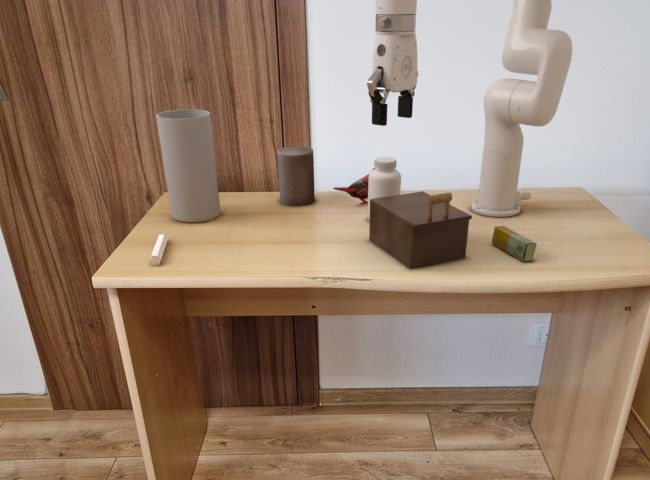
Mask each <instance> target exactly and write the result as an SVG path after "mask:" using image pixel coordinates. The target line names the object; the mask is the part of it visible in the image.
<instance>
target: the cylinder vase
mask: <svg viewBox="0 0 650 480" xmlns="http://www.w3.org/2000/svg"><path fill="white" fill-rule="evenodd" d="M155 116H156V123H157V129H158V136H159V137H158V138H159V142H160V149H161V156H162V163H163V170H164V175H165V183H166V189H167V196H168V201H169V209H170V215H171V217H172V219H173V220H175V221H178V222H181V223H190V224H192V223H193V224H196V223H204V222H209V221H211V220H214V219H216V218H218V217H219V216H220V215H221V211H222V210H221V201H220V193H219V186H218V185H219V184H218V176H217V174H218V173H217V166H216V156H215V146H214V139H213V130H212V121H211V120H212V119H211V112H210V111H208V110H203V109H174V110H166V111H162V112H159V113H157V114H156V115H155Z"/></svg>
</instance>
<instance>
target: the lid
mask: <svg viewBox="0 0 650 480" xmlns="http://www.w3.org/2000/svg"><path fill="white" fill-rule="evenodd" d="M452 200H453V194H452V193H451V192H443V193H436V194H429V193H427V192H426V191H423V190H422V191H416V192H409V193H402V194H400V195H395V196H388V197H381V198H375V199H370V203H372V204H373V205H375V206H377V207H378V208H380V209H382V210H383V211H385V212H387V213H388V214H390V215H392V216H393V217H395V218H397V219H398V220H400V221H402V222H403V223H405V224H407V225H408V226H410V227H412V228H413V229H417V228H423V227H429V226H435V225H441V224H446V223H452V222H458V221H464V220H469V221H470V220H472V219H473V215H472V214H470V213H467V212H465V211H464V210H462V209H460V208H457V207H455V206H453V205H451V203H450V202H451V201H452Z"/></svg>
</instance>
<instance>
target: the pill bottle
mask: <svg viewBox="0 0 650 480" xmlns="http://www.w3.org/2000/svg"><path fill="white" fill-rule="evenodd" d="M373 165H374V167H373V168H375V169H374V170H371V171H370V172H369V173H370V174H369V173H368V174H369V180H368V199H367V201H368V204H367V220H368V221H369V222H370V199H375V198H381V197H388V196H395V195H401V186H402V175H401V172H400V171H399V170H397V159H396V158H394V157H390V156H380V157H376V158H375V159H374V162H373Z"/></svg>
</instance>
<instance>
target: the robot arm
mask: <svg viewBox="0 0 650 480" xmlns="http://www.w3.org/2000/svg"><path fill="white" fill-rule="evenodd" d="M417 4H418V0H375V33H374V34H375V39H374V45H373V54H372V55H373V56H372V68H371V69H372V71H371V72H372V73H371V76H369V78H368V79H367V80H366V87H367V90H368V96H369V98H370V103H371V124H372V125H374V126H381V127H385V126H387V125H388V103H386V102H387V99H388V97H389V94H390V92H391V93H393V94H394V93H399V95H398V97H397V117H398V118H404V119H405V118H406V119H411V118H412V117H413V109H414V108H413V107H414V97H415V94H416V93H415V90H416V87H417V84H418V78H419V71H418V42H417V41H418V40H417V34H416V25H417V24H416V22H417V7H418V6H417ZM552 4H553V3H552V0H513V7H512V12H511V16H510V21H509V23H508V24H509V25H508V29H507V33H506V36H505V41H504V44H503V49H502V54H501V64H502V67H503V68H504V69H505V70H506V71H508V72H511V73H516V74H522V75H530V76H537V78H536V81H534V80H526V79H519V78H500V79H497V80H495V81H493V82H491V83H490V84H489V86H488V87H487V89H486V90H485V94H484V98H483V110H484V111H483V112H484V126H485V127H484V138H483V139H484V140H483V149H482V158H481V167H480V178H479V186H478V195H477V200H474V201H473V202H472V203H471V204H470V206H471V207H470V209H471V211H473V212H474V213H476V214H479V215H482V216H486V217H494V218H505V217H506V218H507V217H512V216H516V215H518V214H519V213H521V208H522V206H521V205H520V204H519V203H520V202H521V201H527V200H530V199H531V198H532V193H531V192H529V191H525V192H520V191H519V190H518V186H519V180H520V179H519V178H520V171H521V165H522V159H523V158H522V157H523V149H524V135H523V130H522V128H521V125H524V126H530V127H531V126H533V127H545V126H547V125H549V123H550V122H551V121H552V120H553V119H554V117H555V116H556V113H557V111H558V109H559V108H558V107H559V105H560V101H561V97H562V94H563V91H564V87H565V85H566V81H567V76H568V73H569V70H570V66H571V62H572V59H573V42H572V39H571V37H570V34H568V33H567V32H566V31H563V30H560V29H548V25H549V21H550V17H551V13H552V6H553V5H552Z"/></svg>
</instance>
